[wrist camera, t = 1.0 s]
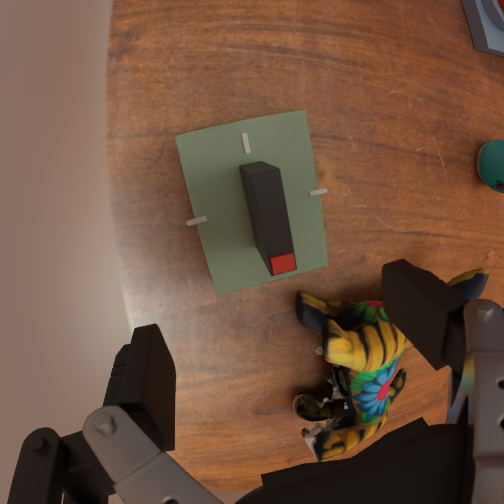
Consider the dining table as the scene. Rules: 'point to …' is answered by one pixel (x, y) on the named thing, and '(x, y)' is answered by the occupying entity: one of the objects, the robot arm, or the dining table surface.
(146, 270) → the dining table surface
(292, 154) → the panel
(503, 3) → the button
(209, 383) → the dining table surface
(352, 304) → the dog figurine
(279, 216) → the knob
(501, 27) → the button block
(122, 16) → the dining table surface
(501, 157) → the beverage can
